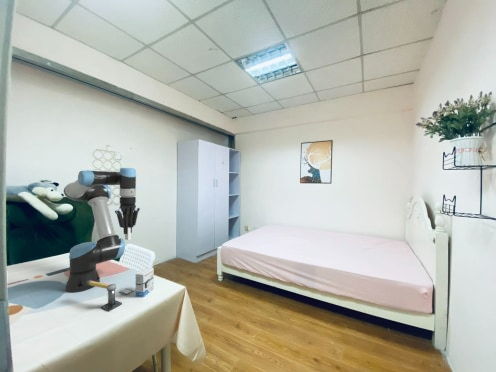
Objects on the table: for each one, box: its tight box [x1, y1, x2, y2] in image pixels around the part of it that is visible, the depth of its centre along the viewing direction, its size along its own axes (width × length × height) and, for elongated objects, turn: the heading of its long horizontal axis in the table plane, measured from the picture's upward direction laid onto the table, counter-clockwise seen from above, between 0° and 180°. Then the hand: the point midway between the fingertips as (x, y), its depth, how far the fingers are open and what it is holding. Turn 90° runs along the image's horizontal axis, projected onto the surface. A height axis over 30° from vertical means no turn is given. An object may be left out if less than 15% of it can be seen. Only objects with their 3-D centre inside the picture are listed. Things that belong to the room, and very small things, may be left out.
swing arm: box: [86, 280, 117, 292], centre depth 99 cm, size 4×18×2 cm, turn 73°
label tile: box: [118, 288, 135, 297], centre depth 109 cm, size 6×4×1 cm, turn 66°
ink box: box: [135, 266, 155, 298], centre depth 109 cm, size 8×5×12 cm, turn 168°
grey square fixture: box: [100, 289, 123, 312], centre depth 97 cm, size 6×6×8 cm
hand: (127, 239), depth 112 cm, fingers closed
